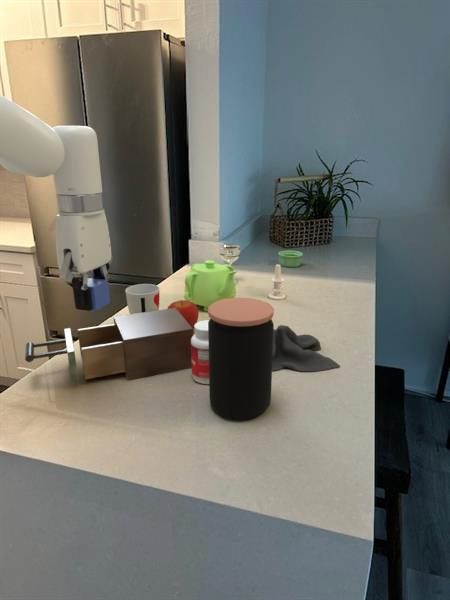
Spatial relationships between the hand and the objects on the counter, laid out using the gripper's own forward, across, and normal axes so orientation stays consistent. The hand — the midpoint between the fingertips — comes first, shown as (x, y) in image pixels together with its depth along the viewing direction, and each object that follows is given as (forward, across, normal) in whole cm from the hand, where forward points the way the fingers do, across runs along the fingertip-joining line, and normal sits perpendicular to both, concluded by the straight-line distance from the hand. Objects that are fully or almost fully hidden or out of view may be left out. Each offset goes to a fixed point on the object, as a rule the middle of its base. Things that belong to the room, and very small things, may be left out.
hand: (92, 303), depth 79 cm
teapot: (+16, -44, +7) cm, 47 cm away
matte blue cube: (0, 0, 0) cm, 0 cm away
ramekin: (+16, -93, +20) cm, 97 cm away
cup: (+15, -24, -3) cm, 29 cm away
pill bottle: (+15, -6, +20) cm, 26 cm away
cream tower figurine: (+16, -56, +23) cm, 63 cm away
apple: (+16, -25, +7) cm, 30 cm away
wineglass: (+16, -66, +6) cm, 68 cm away
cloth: (+16, -21, +33) cm, 42 cm away
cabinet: (+15, -9, +7) cm, 19 cm away
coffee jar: (+15, +1, +29) cm, 33 cm away
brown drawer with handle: (+14, 0, -4) cm, 15 cm away
